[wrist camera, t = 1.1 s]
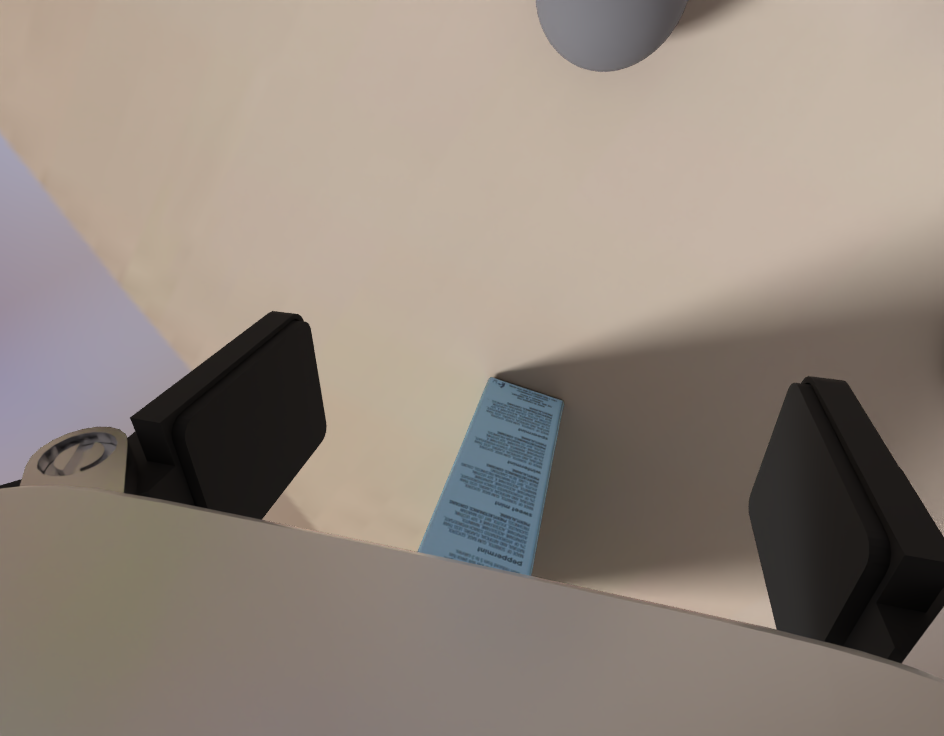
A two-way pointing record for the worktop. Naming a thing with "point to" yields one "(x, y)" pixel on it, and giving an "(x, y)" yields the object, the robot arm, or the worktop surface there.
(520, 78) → the worktop surface
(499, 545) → the gum box
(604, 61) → the grey sphere
